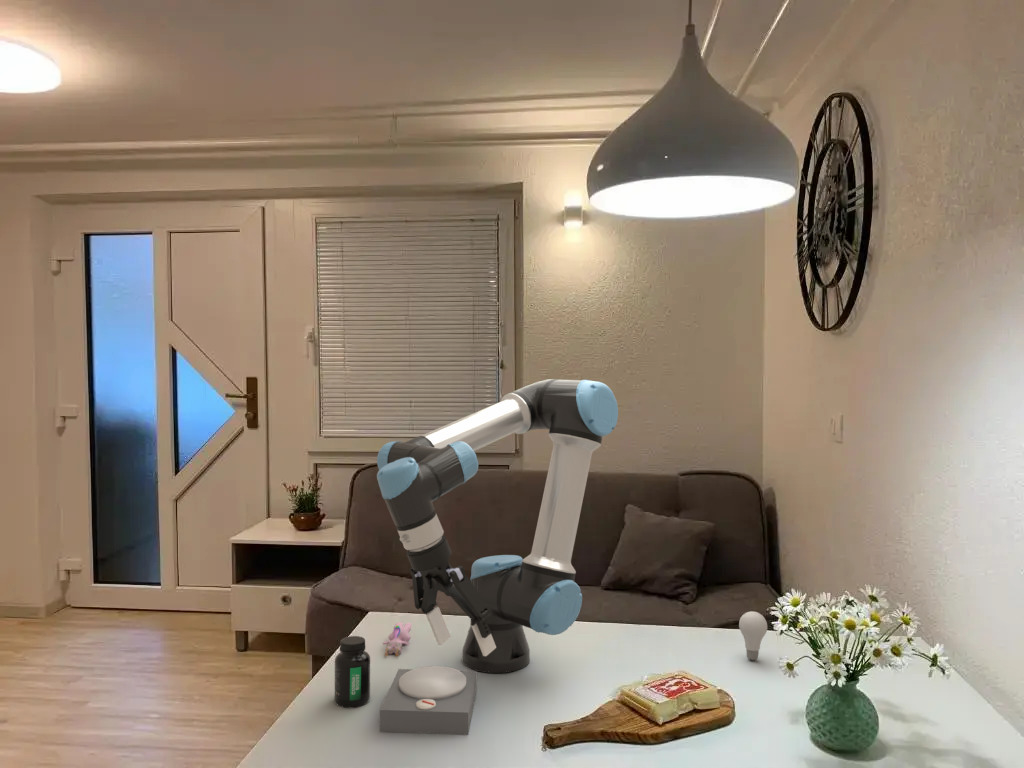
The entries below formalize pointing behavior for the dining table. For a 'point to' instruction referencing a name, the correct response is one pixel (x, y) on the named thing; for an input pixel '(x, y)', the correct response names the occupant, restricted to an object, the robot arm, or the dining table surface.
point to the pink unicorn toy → (398, 638)
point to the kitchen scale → (429, 701)
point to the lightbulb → (752, 632)
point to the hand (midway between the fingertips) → (466, 646)
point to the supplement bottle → (352, 673)
